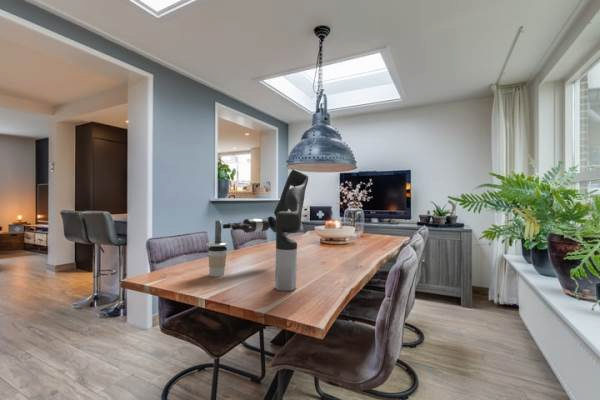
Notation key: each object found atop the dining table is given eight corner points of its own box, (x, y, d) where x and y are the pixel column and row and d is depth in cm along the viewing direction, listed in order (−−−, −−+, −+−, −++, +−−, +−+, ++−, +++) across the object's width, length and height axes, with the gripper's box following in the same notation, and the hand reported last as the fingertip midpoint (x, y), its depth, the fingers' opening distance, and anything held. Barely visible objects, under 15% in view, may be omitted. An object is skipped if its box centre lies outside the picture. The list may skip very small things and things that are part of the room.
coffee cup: (223, 277, 140) (224, 246, 140) (204, 276, 140) (205, 245, 140) (228, 272, 149) (229, 243, 149) (210, 272, 149) (211, 243, 149)
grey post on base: (225, 246, 139) (226, 221, 139) (202, 246, 139) (203, 221, 139) (231, 243, 150) (232, 220, 150) (210, 242, 150) (211, 219, 150)
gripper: (245, 218, 166) (220, 218, 154) (261, 219, 156) (236, 220, 144) (244, 231, 166) (219, 233, 154) (260, 233, 156) (235, 235, 144)
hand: (227, 227), depth 149 cm, fingers open, 8 cm apart
